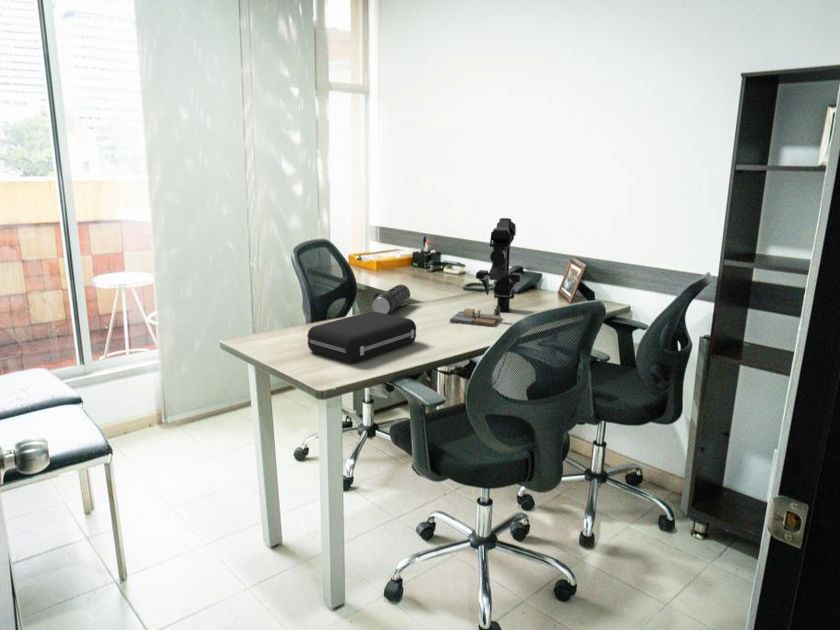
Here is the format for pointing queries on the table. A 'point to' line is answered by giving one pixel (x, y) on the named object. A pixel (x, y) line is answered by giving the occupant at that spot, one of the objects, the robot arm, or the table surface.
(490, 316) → the steel bolt
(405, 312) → the table surface
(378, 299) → the dark grey textured cylinder
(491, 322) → the board
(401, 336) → the briefcase
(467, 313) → the brass keeper
